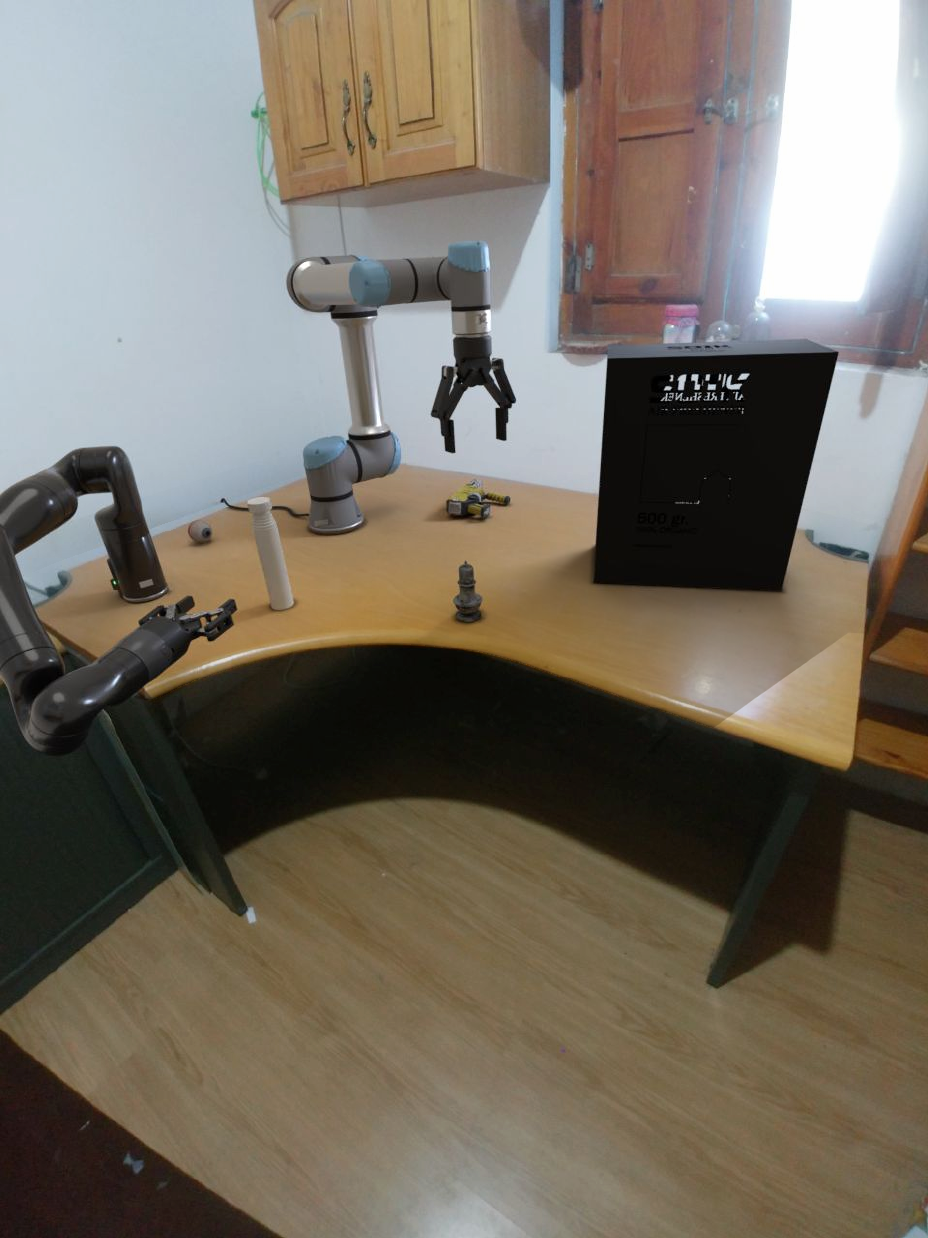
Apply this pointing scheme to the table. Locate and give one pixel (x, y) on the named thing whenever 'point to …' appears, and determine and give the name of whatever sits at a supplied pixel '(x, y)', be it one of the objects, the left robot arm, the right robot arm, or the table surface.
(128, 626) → the table surface
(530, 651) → the table surface
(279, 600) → the bottle
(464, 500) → the toy gun
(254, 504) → the cap
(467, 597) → the grey tall ringed piece
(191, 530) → the eyeball
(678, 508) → the cardboard box
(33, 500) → the left robot arm
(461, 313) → the right robot arm
